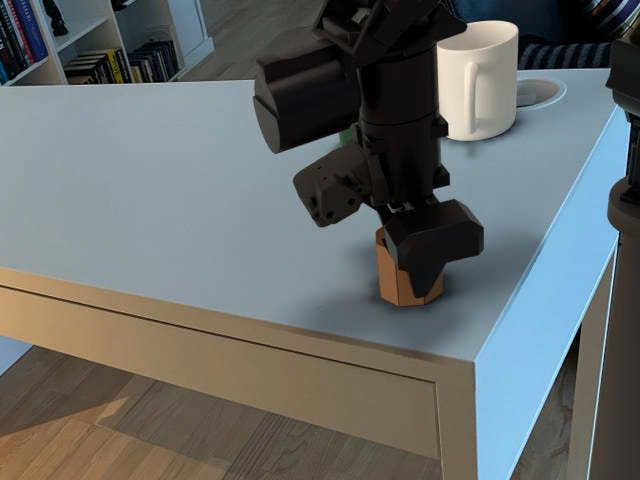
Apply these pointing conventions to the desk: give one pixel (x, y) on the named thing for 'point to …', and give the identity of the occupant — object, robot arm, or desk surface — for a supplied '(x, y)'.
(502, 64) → the cup
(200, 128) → the desk surface
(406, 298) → the octagonal wooden prism
